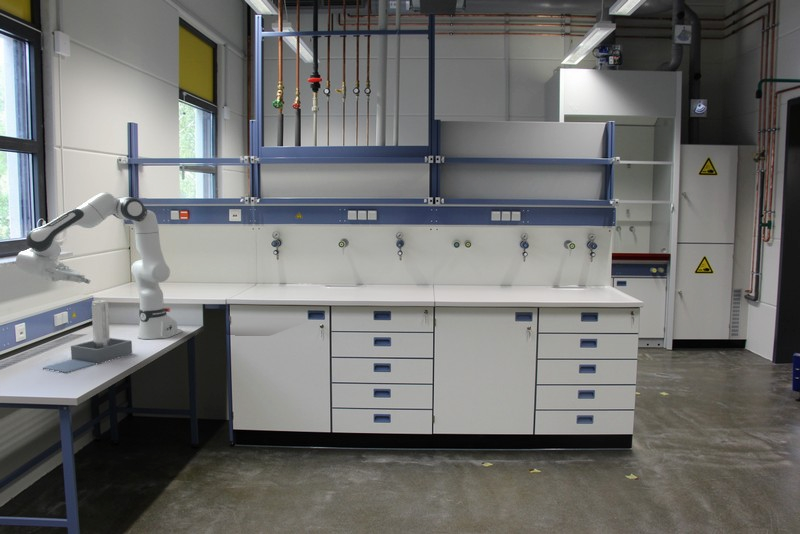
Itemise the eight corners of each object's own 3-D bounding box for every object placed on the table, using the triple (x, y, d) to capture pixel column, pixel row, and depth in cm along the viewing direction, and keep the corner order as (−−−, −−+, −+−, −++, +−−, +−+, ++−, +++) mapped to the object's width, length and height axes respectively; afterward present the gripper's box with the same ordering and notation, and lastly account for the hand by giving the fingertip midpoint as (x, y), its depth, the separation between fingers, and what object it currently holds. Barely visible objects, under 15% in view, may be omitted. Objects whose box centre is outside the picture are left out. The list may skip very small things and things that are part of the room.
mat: (72, 360, 257) (72, 359, 257) (96, 364, 252) (96, 363, 252) (42, 369, 245) (42, 367, 244) (66, 373, 239) (66, 371, 239)
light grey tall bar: (93, 359, 260) (90, 302, 257) (95, 355, 266) (92, 300, 263) (110, 357, 262) (107, 301, 259) (111, 354, 268) (108, 299, 265)
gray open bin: (106, 349, 275) (105, 337, 275) (132, 353, 269) (131, 340, 269) (71, 359, 259) (70, 346, 258) (98, 363, 253) (97, 350, 252)
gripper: (45, 262, 253) (77, 273, 254) (67, 266, 273) (97, 276, 274) (39, 276, 252) (71, 287, 253) (62, 279, 272) (91, 289, 273)
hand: (85, 281), depth 264 cm, fingers open, 8 cm apart
